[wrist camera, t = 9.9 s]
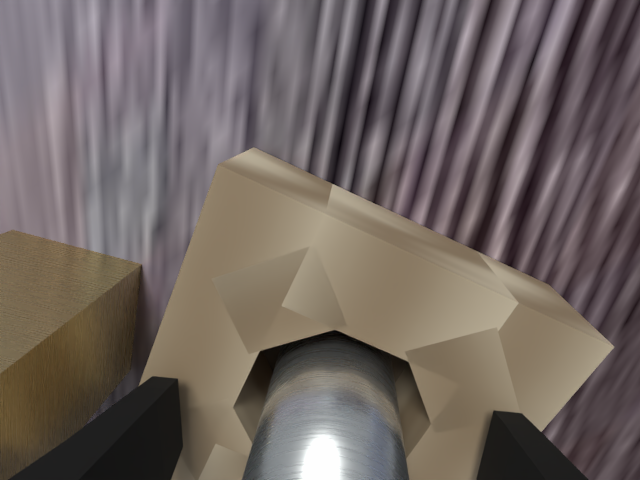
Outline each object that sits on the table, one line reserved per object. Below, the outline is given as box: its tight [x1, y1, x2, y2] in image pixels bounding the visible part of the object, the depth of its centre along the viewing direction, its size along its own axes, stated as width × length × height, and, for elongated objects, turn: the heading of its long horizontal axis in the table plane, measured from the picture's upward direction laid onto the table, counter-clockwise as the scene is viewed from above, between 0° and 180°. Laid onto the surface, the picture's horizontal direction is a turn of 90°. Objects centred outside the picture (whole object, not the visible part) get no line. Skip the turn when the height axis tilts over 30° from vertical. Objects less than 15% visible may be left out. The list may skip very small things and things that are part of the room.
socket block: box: [139, 148, 614, 480], centre depth 11 cm, size 9×9×3 cm
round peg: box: [242, 330, 409, 480], centre depth 9 cm, size 3×3×6 cm
